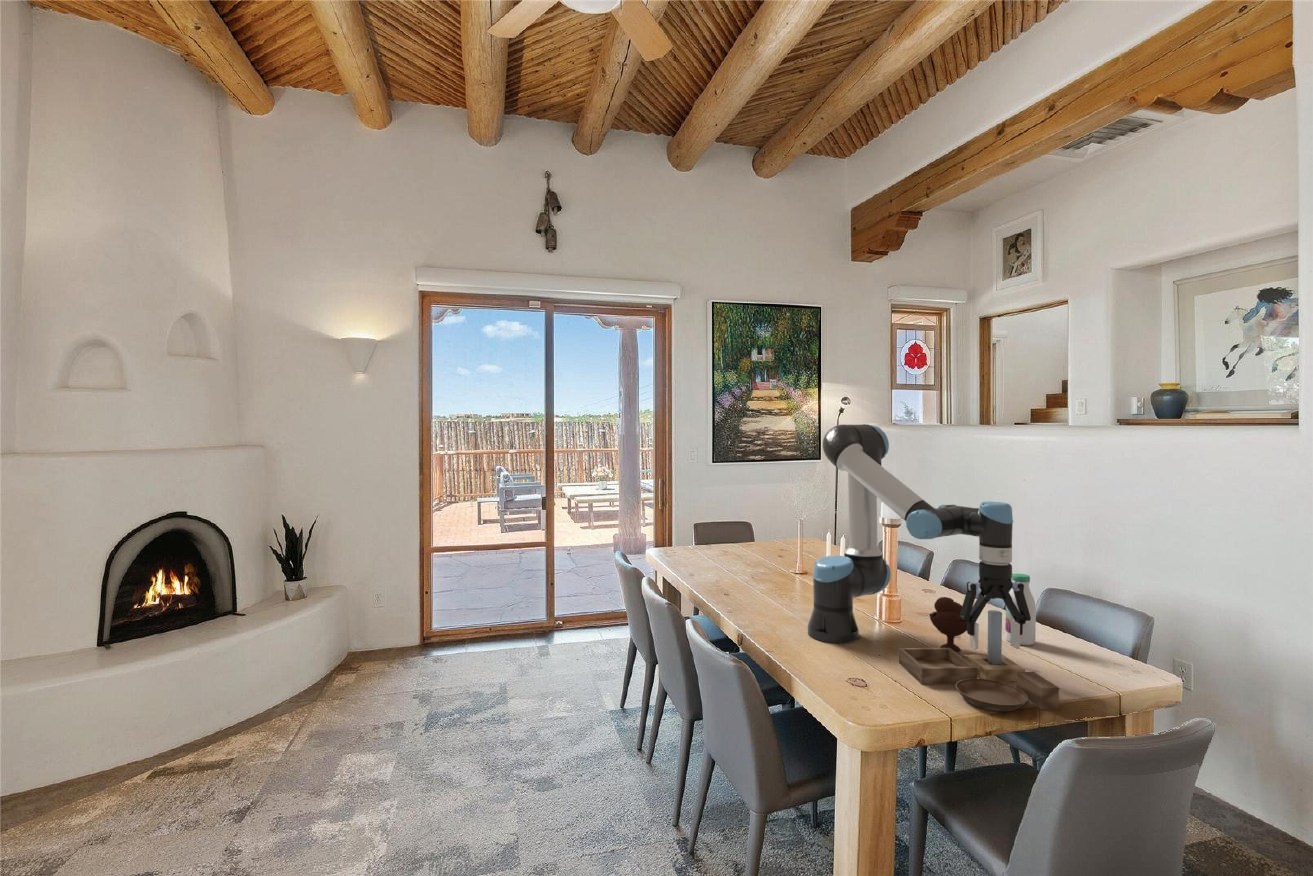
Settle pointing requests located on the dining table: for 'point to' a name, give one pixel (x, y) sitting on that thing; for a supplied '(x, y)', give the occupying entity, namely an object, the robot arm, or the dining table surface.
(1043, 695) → the block
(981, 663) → the socket block
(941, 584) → the dining table surface
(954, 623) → the ice cream bowl
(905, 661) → the tray
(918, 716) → the dining table surface
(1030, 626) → the milk bottle
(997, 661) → the dowel
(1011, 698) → the saucer
